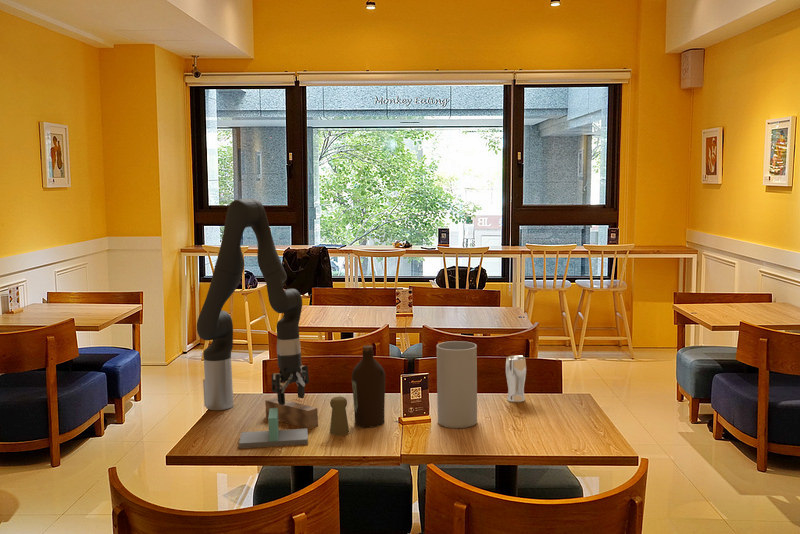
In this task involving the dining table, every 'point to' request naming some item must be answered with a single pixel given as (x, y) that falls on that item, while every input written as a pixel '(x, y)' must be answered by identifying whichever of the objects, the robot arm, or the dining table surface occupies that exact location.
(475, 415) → the cylinder vase
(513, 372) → the beer glass
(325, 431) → the dining table surface
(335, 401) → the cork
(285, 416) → the walnut bar
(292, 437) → the balance stand
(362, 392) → the olive oil
